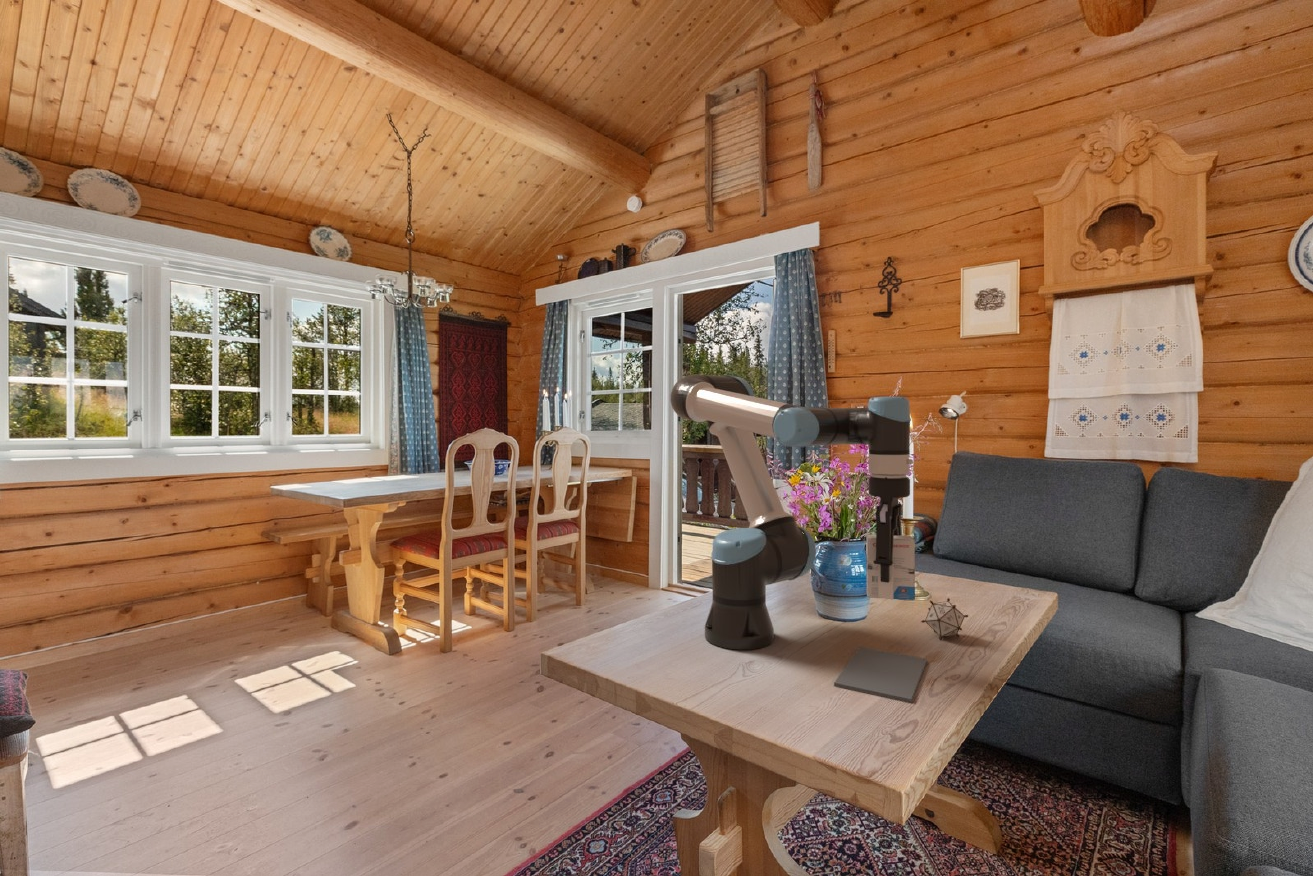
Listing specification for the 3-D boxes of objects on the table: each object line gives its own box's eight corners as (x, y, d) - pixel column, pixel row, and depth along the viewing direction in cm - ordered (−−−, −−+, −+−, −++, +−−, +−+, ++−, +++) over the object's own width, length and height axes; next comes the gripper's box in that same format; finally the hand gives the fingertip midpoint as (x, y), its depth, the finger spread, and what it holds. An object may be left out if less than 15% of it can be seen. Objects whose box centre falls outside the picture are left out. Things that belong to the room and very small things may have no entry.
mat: (834, 686, 110) (834, 682, 110) (859, 649, 127) (859, 646, 127) (911, 702, 103) (911, 699, 103) (926, 662, 120) (926, 659, 120)
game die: (953, 655, 133) (976, 628, 127) (915, 639, 134) (935, 612, 128) (952, 624, 140) (974, 597, 134) (915, 609, 141) (935, 582, 135)
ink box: (911, 594, 120) (911, 535, 120) (915, 601, 116) (915, 539, 116) (865, 591, 123) (865, 533, 123) (867, 598, 118) (867, 537, 118)
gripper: (901, 481, 109) (901, 609, 109) (917, 472, 125) (916, 584, 126) (858, 479, 113) (858, 603, 113) (878, 471, 129) (878, 580, 129)
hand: (889, 593), depth 119 cm, fingers closed on ink box, 6 cm apart
